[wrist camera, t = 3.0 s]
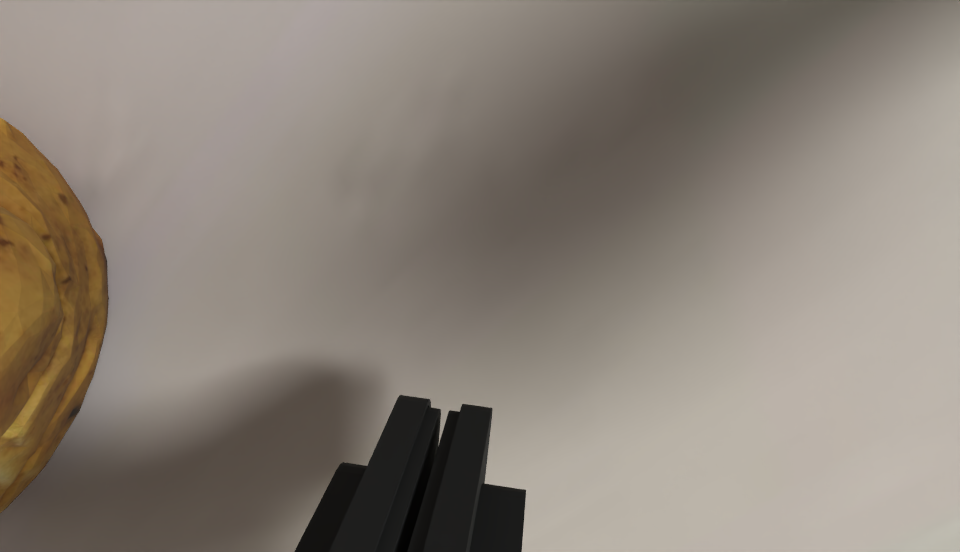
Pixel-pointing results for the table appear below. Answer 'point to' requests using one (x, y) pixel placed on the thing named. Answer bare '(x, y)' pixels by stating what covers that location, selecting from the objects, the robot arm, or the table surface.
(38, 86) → the table surface
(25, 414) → the bread roll
